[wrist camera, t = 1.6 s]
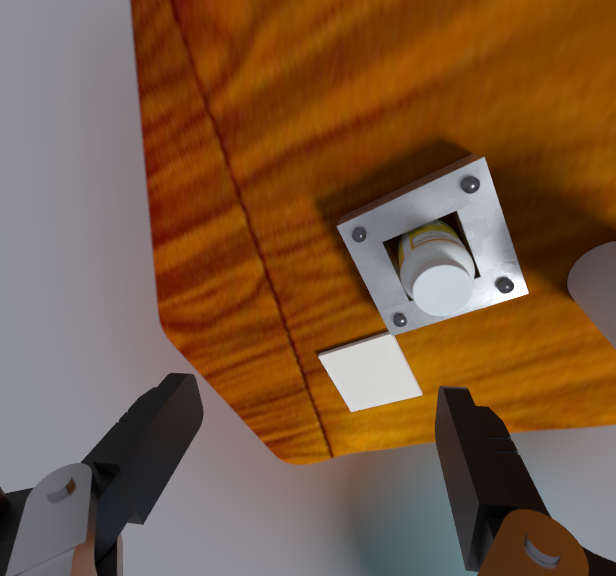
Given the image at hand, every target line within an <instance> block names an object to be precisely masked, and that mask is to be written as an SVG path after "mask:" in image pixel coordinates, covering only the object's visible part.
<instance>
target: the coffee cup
mask: <svg viewBox="0 0 616 576" xmlns="http://www.w3.org/2000/svg"><path fill="white" fill-rule="evenodd" d="M567 287H568V291H569V293H570V295H571V296H572V298H573V299H574V300H575V301H576V303H577V304H578V305H579V306H580V307H581V309H582V310H583V311H584V312H585V313H586V315H587V316H588V317H589V318H590V319H591V321H592V322H593V323H594V324H595V325H596V327H597V328H598V329H599V330H600V331H601V333H602V334H603V335H604V336H605V337H606V339H607V340H608V341H609V342H610V343H611V345H612V346H613V347H614V348H615V349H616V241H614V242H609V243H605V244H602V245H600V246H597V247H595V248H593V249H591V250H590V251H588V252H587V253H585V254H584V255H583V256H581V257H580V258H579V259H578V260H577V261H576V263H575V264H574V265H573V267H572V268H571V270H570V272H569V275H568V280H567Z"/></svg>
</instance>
